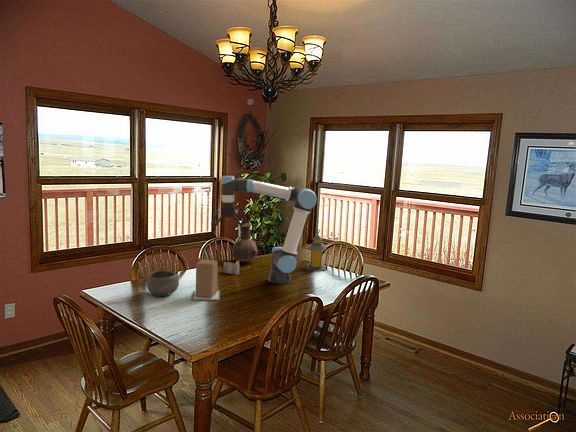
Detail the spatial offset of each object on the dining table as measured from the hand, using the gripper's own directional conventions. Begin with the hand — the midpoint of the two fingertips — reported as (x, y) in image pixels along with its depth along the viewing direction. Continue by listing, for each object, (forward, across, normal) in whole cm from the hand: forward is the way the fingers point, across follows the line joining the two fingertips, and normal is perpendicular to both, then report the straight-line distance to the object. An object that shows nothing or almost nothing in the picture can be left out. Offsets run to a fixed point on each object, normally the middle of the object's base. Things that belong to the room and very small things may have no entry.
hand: (228, 236), depth 256 cm
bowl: (+32, +38, +9) cm, 51 cm away
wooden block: (+32, +13, +13) cm, 37 cm away
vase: (+34, -15, -64) cm, 74 cm away
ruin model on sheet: (+34, -3, -35) cm, 49 cm away
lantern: (+36, -68, -46) cm, 89 cm away
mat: (+33, +13, +13) cm, 37 cm away
